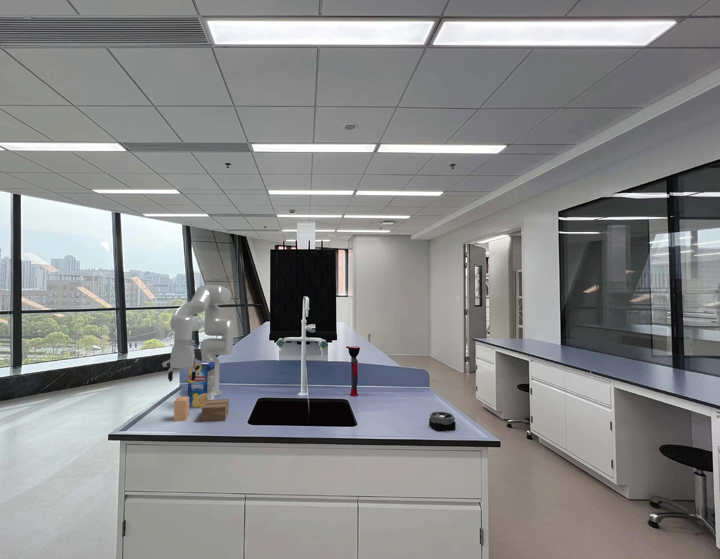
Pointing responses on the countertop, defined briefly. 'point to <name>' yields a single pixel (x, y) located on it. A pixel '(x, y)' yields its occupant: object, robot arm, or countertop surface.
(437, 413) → the cpu cooler
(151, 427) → the countertop surface
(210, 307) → the robot arm
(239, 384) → the countertop surface
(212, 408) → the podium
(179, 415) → the carton
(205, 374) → the blue tall cardboard box
